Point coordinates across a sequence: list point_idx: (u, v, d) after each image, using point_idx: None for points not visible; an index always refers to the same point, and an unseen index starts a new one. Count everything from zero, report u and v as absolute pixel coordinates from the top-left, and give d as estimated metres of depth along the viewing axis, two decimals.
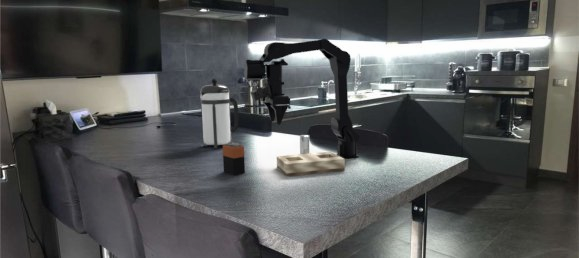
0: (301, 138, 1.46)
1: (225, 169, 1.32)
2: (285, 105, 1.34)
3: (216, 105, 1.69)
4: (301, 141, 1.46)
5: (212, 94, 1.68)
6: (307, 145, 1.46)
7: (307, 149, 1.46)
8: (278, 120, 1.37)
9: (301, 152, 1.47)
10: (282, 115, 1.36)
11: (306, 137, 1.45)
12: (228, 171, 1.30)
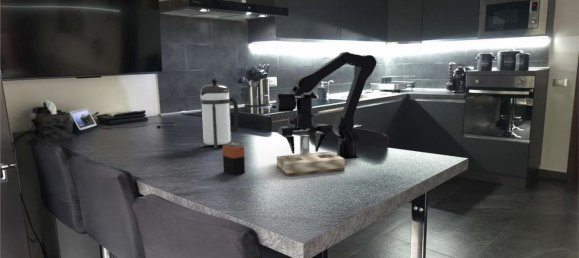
0: (301, 138, 1.46)
1: (225, 169, 1.32)
2: (285, 136, 1.43)
3: (216, 105, 1.69)
4: (301, 141, 1.46)
5: (212, 94, 1.68)
6: (307, 145, 1.46)
7: (307, 149, 1.46)
8: (291, 149, 1.46)
9: (301, 152, 1.47)
10: (291, 145, 1.45)
11: (306, 137, 1.45)
12: (228, 171, 1.30)
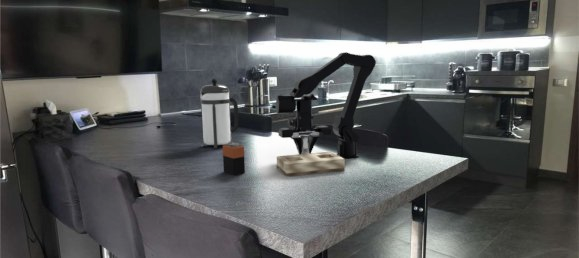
0: (301, 138, 1.46)
1: (225, 169, 1.32)
2: (292, 137, 1.44)
3: (216, 105, 1.69)
4: (301, 141, 1.46)
5: (212, 94, 1.68)
6: (307, 145, 1.46)
7: (307, 149, 1.46)
8: (298, 150, 1.47)
9: (301, 152, 1.47)
10: (297, 146, 1.46)
11: (306, 137, 1.45)
12: (228, 171, 1.30)
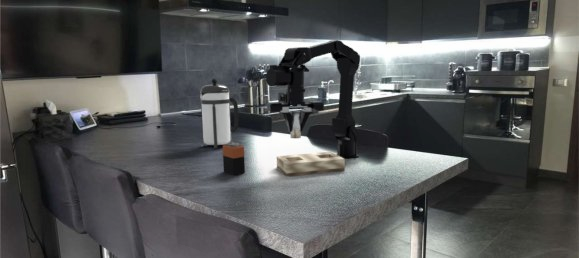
0: (292, 113, 1.33)
1: (225, 169, 1.32)
2: (281, 112, 1.31)
3: (216, 105, 1.69)
4: (292, 117, 1.33)
5: (212, 94, 1.68)
6: (298, 121, 1.33)
7: (298, 126, 1.33)
8: (288, 127, 1.34)
9: (291, 129, 1.34)
10: (287, 123, 1.32)
11: (297, 112, 1.32)
12: (228, 171, 1.30)
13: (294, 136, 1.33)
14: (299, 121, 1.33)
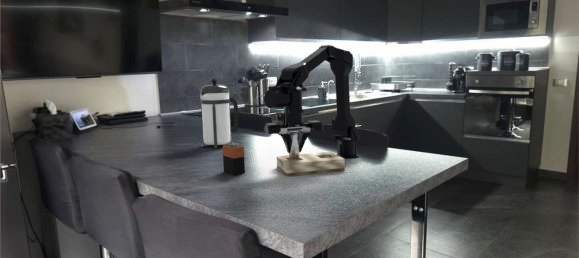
0: (290, 134, 1.30)
1: (225, 169, 1.32)
2: (279, 134, 1.28)
3: (216, 105, 1.69)
4: (290, 138, 1.30)
5: (212, 94, 1.68)
6: (297, 142, 1.30)
7: (297, 147, 1.30)
8: (286, 148, 1.31)
9: (290, 150, 1.31)
10: (286, 144, 1.29)
11: (296, 133, 1.29)
12: (228, 171, 1.30)
13: (293, 157, 1.30)
14: (298, 142, 1.30)
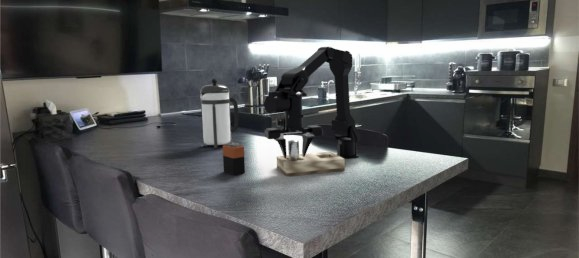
0: (289, 144, 1.30)
1: (225, 169, 1.32)
2: (276, 139, 1.28)
3: (216, 105, 1.69)
4: (289, 147, 1.30)
5: (212, 94, 1.68)
6: (297, 152, 1.30)
7: (296, 156, 1.30)
8: (283, 153, 1.31)
9: (290, 159, 1.31)
10: (282, 149, 1.29)
11: (295, 143, 1.30)
12: (228, 171, 1.30)
13: None
14: (297, 151, 1.31)
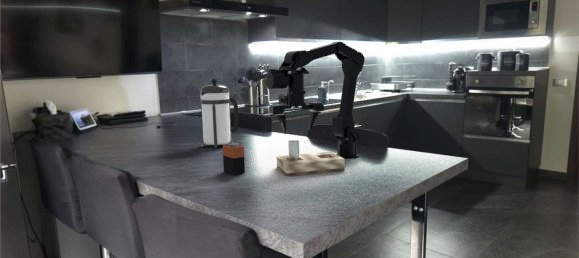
0: (290, 144, 1.30)
1: (225, 169, 1.32)
2: (276, 115, 1.34)
3: (216, 105, 1.69)
4: (290, 147, 1.30)
5: (212, 94, 1.68)
6: (297, 151, 1.30)
7: (297, 156, 1.31)
8: (283, 129, 1.38)
9: (290, 159, 1.31)
10: (282, 125, 1.36)
11: (295, 142, 1.30)
12: (228, 171, 1.30)
13: None
14: (298, 151, 1.31)
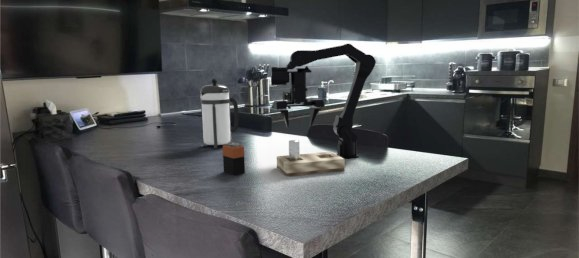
0: (290, 143, 1.30)
1: (225, 169, 1.32)
2: (279, 110, 1.44)
3: (216, 105, 1.69)
4: (290, 147, 1.30)
5: (212, 94, 1.68)
6: (297, 151, 1.31)
7: (297, 156, 1.31)
8: (285, 123, 1.47)
9: (290, 159, 1.31)
10: (285, 119, 1.46)
11: (296, 142, 1.30)
12: (228, 171, 1.30)
13: None
14: (298, 151, 1.31)
